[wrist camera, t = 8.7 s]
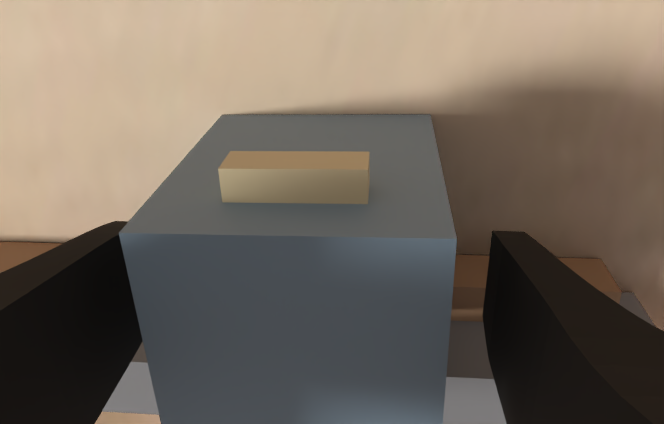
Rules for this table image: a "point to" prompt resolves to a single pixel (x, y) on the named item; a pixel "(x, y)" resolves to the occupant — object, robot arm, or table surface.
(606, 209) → the table surface
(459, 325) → the grey and brown bar
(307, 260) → the cabinet
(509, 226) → the table surface
